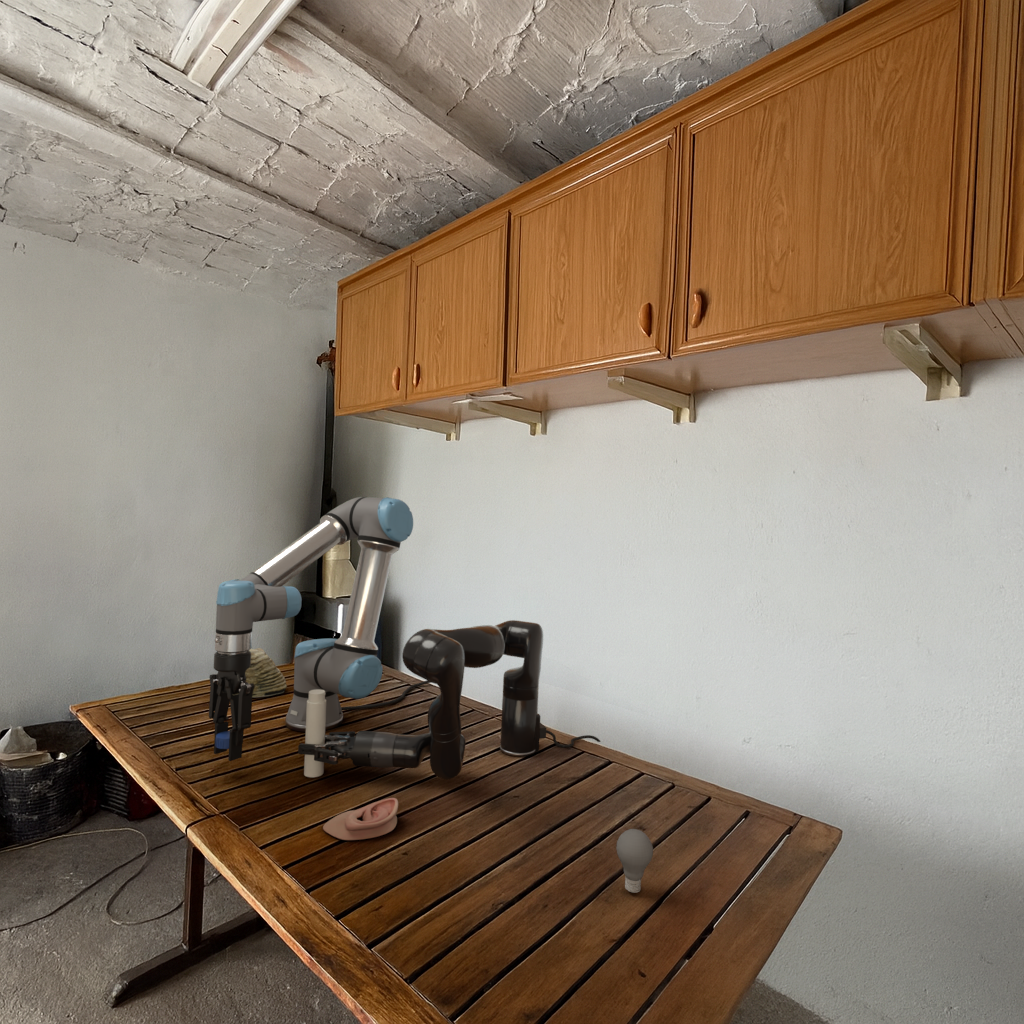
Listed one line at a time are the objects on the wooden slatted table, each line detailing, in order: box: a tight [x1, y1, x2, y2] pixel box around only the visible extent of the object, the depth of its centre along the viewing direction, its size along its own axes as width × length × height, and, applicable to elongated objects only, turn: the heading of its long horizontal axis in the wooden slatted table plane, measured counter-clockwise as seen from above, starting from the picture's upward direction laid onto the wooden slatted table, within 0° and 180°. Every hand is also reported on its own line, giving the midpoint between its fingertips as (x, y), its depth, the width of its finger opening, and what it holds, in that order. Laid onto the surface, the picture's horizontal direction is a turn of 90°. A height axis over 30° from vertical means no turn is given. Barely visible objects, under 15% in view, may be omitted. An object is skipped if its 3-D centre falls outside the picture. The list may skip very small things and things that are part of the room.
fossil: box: [233, 647, 288, 698], centre depth 198 cm, size 9×18×15 cm, turn 132°
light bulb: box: [615, 828, 654, 894], centre depth 106 cm, size 6×6×10 cm
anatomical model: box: [322, 797, 399, 841], centre depth 122 cm, size 13×4×12 cm
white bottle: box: [303, 689, 326, 778], centre depth 145 cm, size 4×4×19 cm
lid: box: [214, 730, 230, 750], centre depth 141 cm, size 5×5×2 cm
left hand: (227, 755), depth 141 cm, fingers closed on lid, 5 cm apart
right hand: (303, 744), depth 145 cm, fingers closed on white bottle, 4 cm apart
